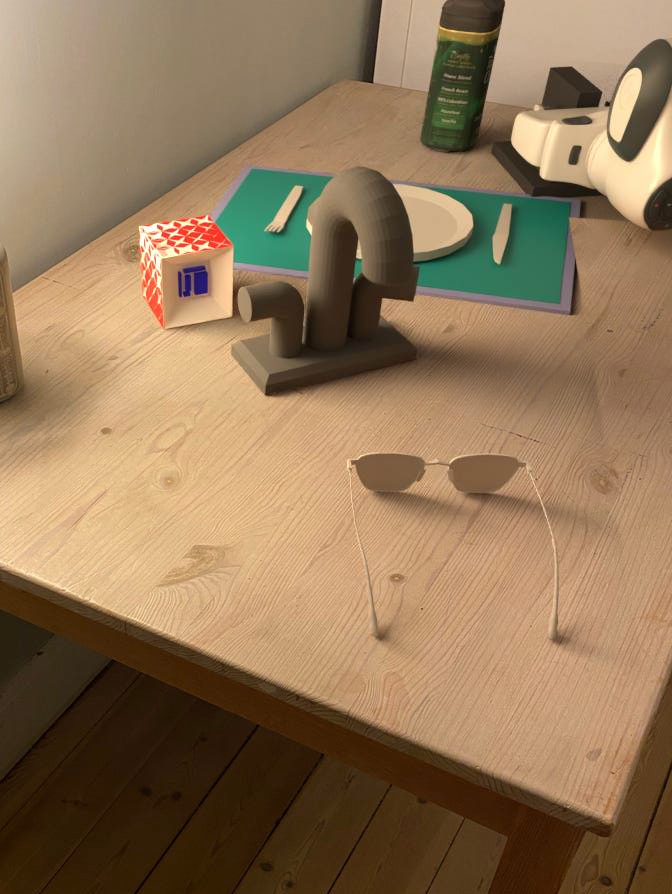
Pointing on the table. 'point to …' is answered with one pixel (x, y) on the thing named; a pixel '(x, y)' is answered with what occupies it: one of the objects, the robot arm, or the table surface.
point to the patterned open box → (186, 271)
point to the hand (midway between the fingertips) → (574, 108)
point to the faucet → (336, 291)
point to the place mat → (417, 237)
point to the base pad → (534, 175)
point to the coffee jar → (461, 73)
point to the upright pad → (570, 90)
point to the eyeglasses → (465, 476)
